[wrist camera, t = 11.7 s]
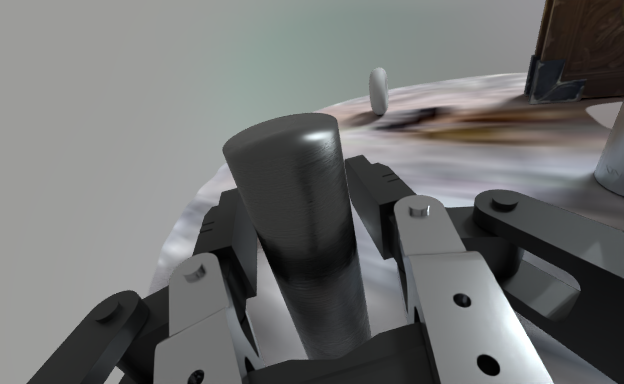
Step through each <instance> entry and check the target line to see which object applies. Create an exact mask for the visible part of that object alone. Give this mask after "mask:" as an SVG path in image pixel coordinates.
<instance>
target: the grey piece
mask: <svg viewBox="0 0 624 384" xmlns="http://www.w3.org/2000/svg"><path fill="white" fill-rule="evenodd" d="M223 154H224V156H225V158H226V161H227V163H228V166H229V168H230V171H231V173H232V175H233V178H234V180H235V183H236V185H237V188H238V190H239V192H240V195H241V197H242V200H243V202H244V204H245V207H246V209H247V212H248V214H249V216H250V219H251V221H252V224H253V226H254V228H255V231H256V233H257V236H258V238H259V241H260V243H261V245H262V248H263V250H264V253H265V255H266V257H267V260H268V262H269V265H270V267H271V269H272V272H273V274H274V277H275V279H276V281H277V284H278V286H279V289H280V291H281V294H282V296H283V298H284V301H285V303H286V306H287V308H288V310H289V313H290V315H291V318H292V320H293V322H294V325H295V327H296V330H297V332H298V334H299V337H300V339H301V342H302V344H303V346H304V349H305V351H306V354H307V356H308V359H309V360H320V359H338V358H341V357H343V356H344V355H346V354H347V353H349V352H351V351H352V350H354V349H355V348H357V347H359V346H360V345H362V344H363V343H365V342H366V341H368V340H370V339H371V331H370V325H369V319H368V312H367V306H366V300H365V293H364V287H363V281H362V274H361V268H360V262H359V255H358V249H357V243H356V236H355V230H354V224H353V217H352V211H351V205H350V199H349V192H348V186H347V180H346V173H345V167H344V161H343V154H342V148H341V142H340V135H339V129H338V123H337V120H336V118H335V117H333V116H331V115H328V114H323V113H303V114H294V115H289V116H283V117H279V118H275V119H272V120H268V121H265V122H262V123H259V124H257V125H254V126H252V127H249V128H247V129H245V130H243V131H241V132H239V133H238V134H236V135H235V136H233V137H232V138H230V139H229V140H228V141H227V142H226V143H225V145H224V147H223Z"/></svg>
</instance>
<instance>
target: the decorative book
mask: <svg viewBox="0 0 624 384" xmlns="http://www.w3.org/2000/svg"><path fill="white" fill-rule="evenodd" d="M524 95H525V96H529V101H528V102H529V104H543V103H558V102H573V101H580V100H581V98H589V97H604V96H618V95H624V0H546V3H545V7H544V12H543V17H542V21H541V26H540V31H539V36H538V41H537V45H536V50H535V55H532V56H531V62H530V66H529V71H528V75H527V80H526V85H525V90H524Z"/></svg>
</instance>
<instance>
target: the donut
mask: <svg viewBox="0 0 624 384" xmlns="http://www.w3.org/2000/svg"><path fill="white" fill-rule="evenodd" d="M369 90H370V101H371V107H372V110H373V112H374V113H376V114H378V115H381V114H384V113H385V112H386V111H387V108H388V82H387V75H386V72H385V70H384V69H383V68H375V69H374V70H373V71H372V72H371V74H370V80H369Z"/></svg>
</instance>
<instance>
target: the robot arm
mask: <svg viewBox="0 0 624 384" xmlns="http://www.w3.org/2000/svg"><path fill="white" fill-rule="evenodd" d="M345 170H346V177H347V183H348V189H349V195H350V198H351V201H352V204H353V206H354V208H355V210H356V211H357V213H358V215H359V217H360V219H361V220H362V222H363V224H364V226H365V227H366V229H367V231H368V233H369V234H370V236H371V238H372V240H373V242H374V243H375V245H376V247H377V249H378V250H379V252H380V254H381V256H382V257H383V259H384V260H386V259H389V258H393V257H394V259H395V261H396V262H397V273H398V278H399V283H400V289H401V294H402V299H403V304H404V309H405V315H406V320H407V325H406V326H402V327H399V328H396V329H392V330H389V331H386V332H382V333H379V334H378V335H376V336H374V337H373V338H371V339H370V340H368V341H366V342H365V343H363V344H362V345H360V346H359V347H357V348H355V349H354V350H352V351H351V352H349V353H347V354H346V355H344V356H343V357H341V358H338V359H320V360H288V361H285V362H281V363H278V364H275V365H271V366H268V367H265V364H264V361H263V358H262V355H261V352H260V349H259V346H258V342H257V339H256V336H255V333H254V330H253V327H252V324H251V321H250V318H249V315H248V313H247V311H246V299H248V298H251V297H255V296H257V233H256V231H255V228H254V226H253V224H252V221H251V219H250V216H249V214H248V212H247V209H246V207H245V204H244V202H243V200H242V197H241V195H240V192H239V190H238V188H235V189H231V190H228V191H224V192H222V193H221V197H220V201H219V205H218V206H214V207H212V208H211V209H210V210H209V211H208V213H207V214H206V215H205V216H204V220H203V223H202V226H201V229H200V234H199V236H198V239H197V242H196V245H195V249H194V252H193V255H192V257H190V258H188V259H187V260H185V261H184V262H182V263H181V264H180V265H179V266H178V267H177V268H176V269H175V270H174V271H173V273H172V274H171V276H170V279H169V285H168V286H167V287H165V288H163V289H161V290H159V291H157V292H155V293H153V294H151V295H150V296H148V297H146V298H144V299H141V297H140V296H139V295H138V294H137V293H136V292H134V291H130V290H128V291H122V292H119V293H116V294H114V295H112V296H110V297H108V298H107V299H105V300H104V301H102V302H101V303H99V304H98V305H97V306H96V307H95V308H94V309H93V310H92V311H91V312H90V313H89V314H88V315H87V316H86V317H85V318H84V320H82V322H81V323H80V324H79V325H78V326H77V327H76V328H75V330H74V331H73V332H72V333H71V334H70V335H69V336H68V337H67V339H66V340H65V341H64V342H63V343H62V344H61V346H59V348H58V349H57V350H56V351H55V352H54V353H53V354H52V356H51V357H50V358H49V359H48V360H47V361H46V362H45V363H44V365H43V366H42V367H41V368H40V369H39V370H38V371H37V373H36V374H35V375H34V376H33V377H32V378H31V379H30V381H29V382H28V383H27V384H104V382H105V381H106V379H107V378H108V376H109V374H110V373H111V372H112V370H113V369H114V367H115V366H117V367H118V368H119V369H120V370H121V371H123V372H124V373H125V374H124V376H123V377H122V379H121V381H120V382H119V384H554V382H553V381H552V379H551V377H550V375H549V374H548V372H547V370H546V368H545V366H544V365H543V363H542V361H541V359H540V358H539V356H538V354H537V352H536V350H535V349H534V347H533V345H532V343H531V342H530V340H529V338H528V336H527V334H526V333H525V331H524V329H523V327H522V326H521V324H520V322H519V320H518V318H517V317H516V315H515V313H514V311H513V310H512V309H514V310H515V311H516V312H518V313H519V314H521V315H522V316H523V317H525V318H526V319H528V320H529V321H530V322H532V323H533V324H535V325H536V326H537V327H539V328H540V329H542V330H543V331H544V332H546V333H547V334H549V335H550V336H552V337H553V338H554V339H556V340H557V341H559V342H560V343H561V344H563V345H564V346H566V347H567V348H568V349H570V350H571V351H573V352H574V353H575V354H577V355H578V356H580V357H581V358H583V359H584V360H585V361H587V362H588V363H590V364H591V365H592V366H594V367H595V368H597V369H598V370H599V371H601V372H602V373H604V374H605V375H606V376H608V377H609V378H611V379H612V380H614V381H615V382H616V383H618V384H624V231H621V230H618V229H616V228H613V227H610V226H608V225H605V224H602V223H599V222H597V221H594V220H591V219H589V218H586V217H583V216H580V215H578V214H575V213H572V212H570V211H567V210H564V209H562V208H559V207H556V206H553V205H551V204H548V203H545V202H543V201H540V200H537V199H534V198H532V197H529V196H526V195H524V194H521V193H518V192H514V191H509V190H488V191H484V192H482V193H480V194H478V195H477V196H476V198H475V202H474V206H471V207H454V208H446V207H444V206H443V204H442V203H441V202H440V201H438V200H437V199H435V198H432V197H429V196H424V195H417V194H416V193H414V192H413V191H412V190H411V189H410V188H409V187H408V186H407V185H406V184H405V183H404V182H403V181H402V180H401V179H400V178H399V177H398V176H397V175H396V174H395V173H394V172H393V171H392V170H391V169H390V168H389V167H388V166H385V165H383V164H380V163H375V164H371V163H370V162H369V161H368V160H367V159H366V158H365V157H364V156H363V155H359V156H356V157H352V158H348V159H345ZM594 175H595V178H596V180H597V181H598V182H599V183H600V184H601V185H603V186H604V187H606V188H607V189H609V190H611V191H613V192H615V193H617V194H619V195H622V196H624V101H623V104H622V106H621V108H620V111H619V113H618V116H617V119H616V121H615V123H614V126H613V128H612V131H611V133H610V136H609V138H608V140H607V143H606V145H605V148H604V150H603V153H602V155H601V158H600V160H599V163H598V165H597V168H596V170H595V174H594ZM525 250H526V251H528V252H530V253H532V254H534V255H536V256H538V257H539V258H541V259H543V260H545V261H547V262H549V263H551V264H553V265H555V266H557V267H559V268H561V269H562V270H564V271H566V272H568V273H569V274H571V275H572V276H573V277H574V278H575V279H576V280H577V281H578V283H579V285H580V288H581V291H579V290H577V289H575V288H573V287H571V286H569V285H568V284H566V283H564V282H562V281H560V280H558V279H557V278H555V277H553V276H551V275H549V274H548V273H546V272H544V271H542V270H540V269H539V268H537V267H535V266H533V265H531V264H530V263H528V262H526V261H524V260H522V257H523V254H524V251H525Z"/></svg>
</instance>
